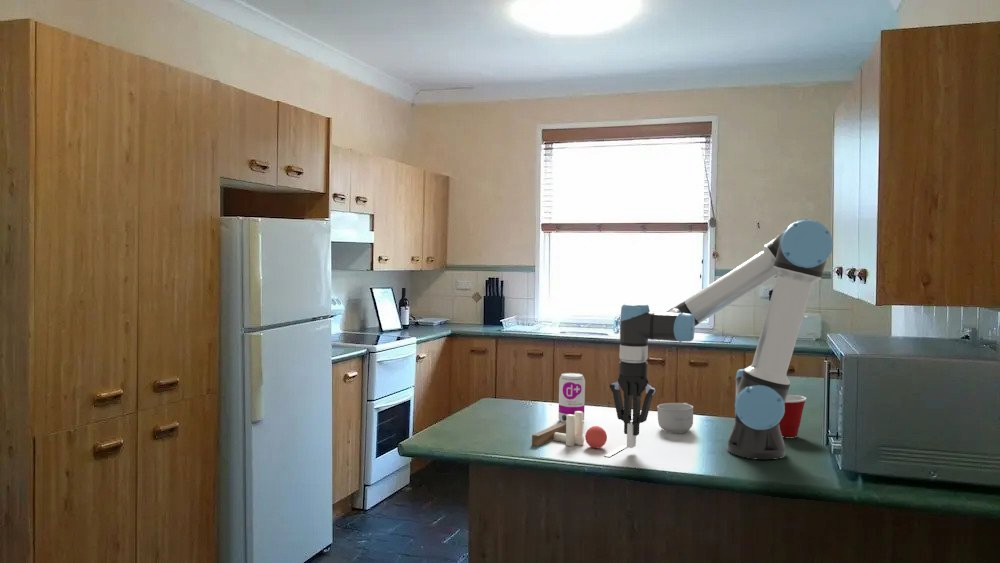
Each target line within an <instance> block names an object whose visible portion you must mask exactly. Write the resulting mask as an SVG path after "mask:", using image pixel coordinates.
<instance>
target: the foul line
mask: <svg viewBox="0 0 1000 563" xmlns="http://www.w3.org/2000/svg"><path fill="white" fill-rule="evenodd" d="M623 449H624V450H626V449H628V447H627V443H624V444H623V445H621V446H619V447H617V448H615V449H614V450H612V451H610V452H609V453H607V454H605V455H604V456H606V457H605V458H612V457H613V456H615V455H616V453H617V452H618V453H620V452H622V451H623ZM621 450H622V451H621ZM619 451H620V452H619ZM618 453H617V454H618ZM614 454H615V455H614ZM612 455H613V456H612Z"/></svg>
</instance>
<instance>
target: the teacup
mask: <svg viewBox="0 0 1000 563" xmlns="http://www.w3.org/2000/svg"><path fill="white" fill-rule="evenodd" d="M656 409H657V420H658V422H657V423H658V426H659V427H660V428H661V429H662V430H663V431H664V432H665V433H670V434H683V433H687V432H688V431H689V430H690V429H691V428H692V427H693V424H694V405H692V404H689V403H688V402H667V403H666V402H665V403H660V404H658V405H657V406H656Z"/></svg>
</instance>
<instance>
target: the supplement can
mask: <svg viewBox="0 0 1000 563" xmlns="http://www.w3.org/2000/svg"><path fill="white" fill-rule="evenodd" d="M585 392H586V379H585V377H584V374H583V373H578V372H564V373H561V375H560V377H559V380H558V420H559V421H560V423H561V422H564V423H566V415H569V414H571V415H575V411H581V412H583V421H584V420H585V403H586V402H585V399H586V393H585Z"/></svg>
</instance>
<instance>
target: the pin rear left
mask: <svg viewBox="0 0 1000 563" xmlns="http://www.w3.org/2000/svg"><path fill="white" fill-rule="evenodd" d="M574 441H575V415H571V414H569V415H566V442H565V446H566V447H575V444H574Z"/></svg>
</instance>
